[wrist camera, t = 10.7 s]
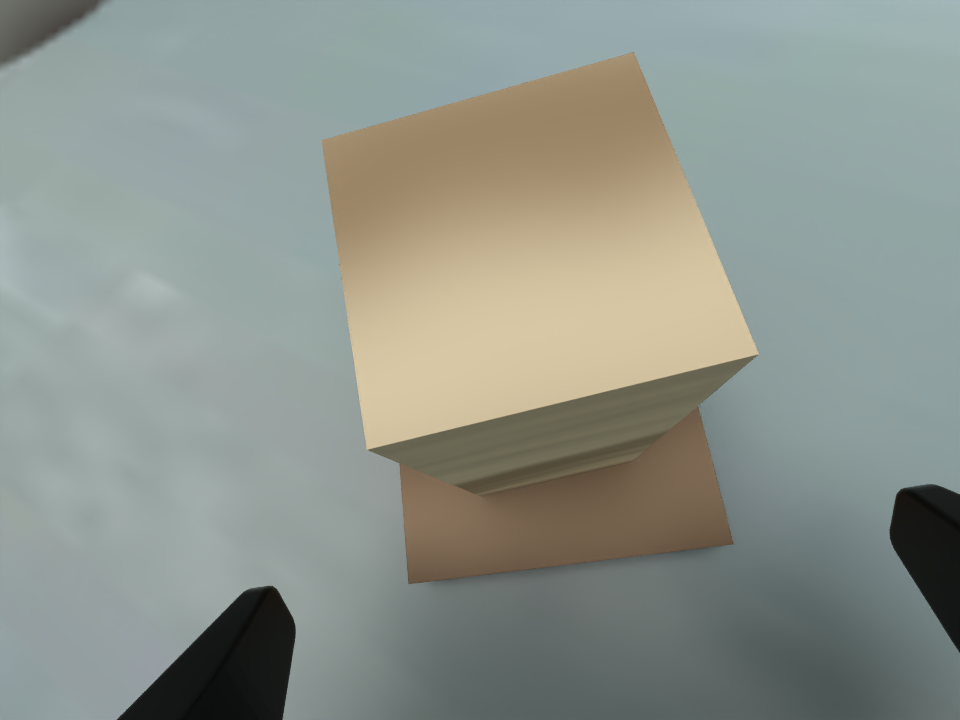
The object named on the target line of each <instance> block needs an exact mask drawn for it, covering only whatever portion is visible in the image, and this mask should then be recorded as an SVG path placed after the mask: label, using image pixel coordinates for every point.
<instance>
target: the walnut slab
mask: <svg viewBox="0 0 960 720" xmlns="http://www.w3.org/2000/svg"><path fill="white" fill-rule="evenodd" d="M400 476H401V490H402V503H403V516H404V529H405V542H406V556H407V569H408V582H409V584H413V583H422V582H430V581H438V580H446V579H454V578H462V577H471V576H479V575H487V574H495V573H503V572H511V571H519V570H528V569H536V568H544V567H552V566H560V565H568V564H576V563H585V562H593V561H601V560H609V559H617V558H625V557H633V556H642V555H650V554H658V553H666V552H674V551H682V550H690V549H699V548H707V547H715V546H723V545H731V544H733V540H732V536H731V532H730V528H729V525H728V521H727V517H726V513H725V509H724V505H723V501H722V497H721V494H720V490H719V486H718V482H717V478H716V474H715V470H714V466H713V463H712V459H711V455H710V451H709V447H708V443H707V439H706V436H705V432H704V428H703V424H702V420H701V416H700V412H699V408H698V406H697V407H696V408H695V409H694V410H692V411H691V412H690V413H689V414H688V415H687V416H685V417H684V418H683V419H682V420H681V421H679V422H678V423H677V424H676V425H675V426H674V427H672V428H671V429H670V430H669V431H668V432H666V433H665V434H664V435H663V436H662V437H661V438H659V439H658V440H657V441H656V442H655V443H654V444H652V445H651V446H650V447H649V448H648V449H646V450H645V451H644V452H643V453H642V454H641V455H639V456H638V457H637V458H636V459H635V460H633V461H630V462H626V463H622V464H618V465H613V466H609V467H605V468H600V469H596V470H592V471H588V472H583V473H579V474H575V475H571V476H566V477H562V478H558V479H554V480H549V481H545V482H541V483H537V484H532V485H528V486H524V487H520V488H515V489H511V490H507V491H502V492H498V493H494V494H490V495H485V496H478V495H476V494H474V493H471V492H469V491H466V490H464V489H461V488H459V487H457V486H454V485H452V484H449V483H447V482H444V481H442V480H439V479H437V478H435V477H432V476H430V475H427V474H425V473H422V472H420V471H418V470H415V469H413V468H410V467H408V466H405V465H403V464H401V463H400Z"/></svg>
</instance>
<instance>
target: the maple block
mask: <svg viewBox="0 0 960 720" xmlns="http://www.w3.org/2000/svg"><path fill="white" fill-rule="evenodd" d="M322 146H323V152H324V159H325V166H326V173H327V180H328V187H329V194H330V200H331V207H332V214H333V221H334V228H335V235H336V241H337V248H338V255H339V262H340V269H341V276H342V283H343V289H344V296H345V303H346V310H347V317H348V324H349V331H350V337H351V344H352V351H353V358H354V365H355V372H356V378H357V385H358V392H359V399H360V406H361V413H362V420H363V426H364V433H365V440H366V447H367V450H369V451H371V452H374V453H376V454H379V455H381V456H383V457H386V458H388V459H391V460H393V461H396V462H398V463H401V464H403V465H405V466H408V467H410V468H413V469H415V470H418V471H420V472H422V473H425V474H427V475H430V476H432V477H435V478H437V479H439V480H442V481H444V482H447V483H449V484H452V485H454V486H457V487H459V488H461V489H464V490H466V491H469V492H471V493H474V494H476V495H478V496H485V495H490V494H494V493H498V492H502V491H507V490H511V489H515V488H520V487H524V486H528V485H532V484H537V483H541V482H545V481H549V480H554V479H558V478H562V477H566V476H571V475H575V474H579V473H583V472H588V471H592V470H596V469H600V468H605V467H609V466H613V465H618V464H622V463H626V462H630V461H633V460H635V459H636V458H637V457H638V456H639V455H641V454H642V453H643V452H644V451H645V450H646V449H648V448H649V447H650V446H651V445H652V444H654V443H655V442H656V441H657V440H658V439H659V438H661V437H662V436H663V435H664V434H665V433H666V432H668V431H669V430H670V429H671V428H672V427H674V426H675V425H676V424H677V423H678V422H679V421H681V420H682V419H683V418H684V417H685V416H687V415H688V414H689V413H690V412H691V411H692V410H694V409H695V408H696V407H697V406H698V405H700V404H701V403H702V402H703V401H704V400H705V399H707V398H708V397H709V396H710V395H711V394H713V393H714V392H715V391H716V390H717V389H718V388H720V387H721V386H722V385H723V384H724V383H725V382H727V381H728V380H729V379H730V378H731V377H733V376H734V375H735V374H736V373H737V372H738V371H740V370H741V369H742V368H743V367H744V366H746V365H747V364H748V363H749V362H750V361H751V360H753V359H754V358H755V357H756V356H757V355H759V354H758V351H757V349H756V346H755V344H754V341H753V339H752V337H751V334H750V332H749V329H748V327H747V325H746V322H745V320H744V317H743V315H742V313H741V310H740V308H739V305H738V303H737V300H736V298H735V296H734V293H733V291H732V288H731V286H730V284H729V281H728V279H727V276H726V274H725V271H724V269H723V267H722V264H721V262H720V259H719V257H718V255H717V252H716V250H715V247H714V245H713V242H712V240H711V238H710V235H709V233H708V230H707V228H706V226H705V223H704V221H703V218H702V216H701V213H700V211H699V209H698V206H697V204H696V201H695V199H694V197H693V194H692V192H691V189H690V187H689V185H688V182H687V180H686V177H685V175H684V172H683V170H682V168H681V165H680V163H679V160H678V158H677V156H676V153H675V151H674V148H673V146H672V143H671V141H670V139H669V136H668V134H667V131H666V129H665V127H664V124H663V122H662V119H661V117H660V114H659V112H658V110H657V107H656V105H655V102H654V100H653V98H652V95H651V93H650V90H649V88H648V86H647V83H646V81H645V78H644V76H643V73H642V71H641V69H640V66H639V64H638V61H637V59H636V57H635V54H634V52H633V53H629V54H626V55H622V56H619V57H615V58H612V59H608V60H605V61H601V62H597V63H594V64H590V65H587V66H583V67H580V68H576V69H573V70H569V71H566V72H562V73H558V74H555V75H551V76H548V77H544V78H541V79H537V80H534V81H530V82H527V83H523V84H520V85H516V86H512V87H509V88H505V89H502V90H498V91H495V92H491V93H488V94H484V95H481V96H477V97H473V98H470V99H466V100H463V101H459V102H456V103H452V104H449V105H445V106H442V107H438V108H434V109H431V110H427V111H424V112H420V113H417V114H413V115H410V116H406V117H403V118H399V119H395V120H392V121H388V122H385V123H381V124H378V125H374V126H371V127H367V128H364V129H360V130H357V131H353V132H349V133H346V134H342V135H339V136H335V137H332V138H328V139H325V140H322Z"/></svg>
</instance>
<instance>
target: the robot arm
mask: <svg viewBox="0 0 960 720" xmlns="http://www.w3.org/2000/svg"><path fill="white" fill-rule="evenodd" d="M890 539H891V543H892V545H893V548H894V550H895V551H896V553H897V555H898V556H899V558H900V559H901V561H902V563H903V564H904V566H905V567H906V569H907V571H908V572H909V574H910V575H911V577H912V578H913V580H914V582H915V583H916V585H917V586H918V588H919V590H920V591H921V593H922V594H923V596H924V597H925V599H926V601H927V602H928V604H929V605H930V607H931V609H932V610H933V612H934V613H935V615H936V616H937V618H938V620H939V621H940V623H941V624H942V626H943V628H944V629H945V631H946V632H947V634H948V635H949V637H950V639H951V640H952V642H953V643H954V645H955V646H956V648H957V649H958V651H959V652H960V494H958V493H955V492H953V491H951V490H948V489H946V488H944V487H941V486H938V485H933V484H927V485H920V486H914V487H907V488H903V489H901V490H900V491H899V492H898V493H897V495H896V499H895V504H894V510H893V515H892V520H891V526H890ZM295 635H296V628H295V623H294V619H293V617H292V615H291V614H290V612H289V610H288V608H287V606H286V604H285V603H284V601H283V599H282V597H281V595H280V593H279V592H278V590H277V589H276V588H275V587H273V586H264V587H258V588H251V589H248V590H246V591H244V592H243V593H242V594H241V595H240V596H239V597H238V598H237V599H236V600H235V601H234V602H233V603H232V604H231V605H230V606H229V607H228V608H227V609H226V610H225V611H224V612H223V613H222V614H221V615H220V616H219V617H218V618H217V619H216V620H215V621H214V622H213V623H212V624H211V625H210V626H209V627H208V628H207V629H206V630H205V631H204V632H203V633H202V634H201V635H200V636H199V637H198V638H197V639H196V640H195V641H194V642H193V643H192V644H191V645H190V646H189V647H188V648H187V649H186V650H185V651H184V652H183V653H182V654H181V655H180V656H179V657H178V658H177V659H176V660H175V661H174V662H173V663H172V664H171V665H170V666H169V667H168V669H167V670H166V671H165V672H164V673H163V674H162V675H161V676H160V677H159V678H158V679H157V680H156V681H155V682H154V683H153V684H152V685H151V686H150V687H149V688H148V689H147V690H146V691H145V692H144V693H143V694H142V695H141V696H140V697H139V698H138V699H137V700H136V701H135V702H134V703H133V704H132V705H131V706H130V707H129V708H128V709H127V710H126V711H125V712H124V713H123V714H122V715H121V716H120V717H119V718H118V719H117V720H283V713H284V707H285V700H286V694H287V688H288V681H289V675H290V668H291V662H292V656H293V649H294V643H295Z"/></svg>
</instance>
